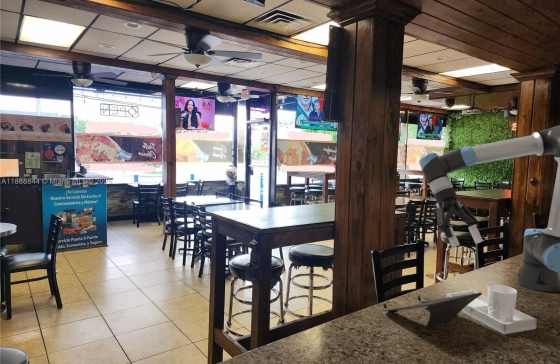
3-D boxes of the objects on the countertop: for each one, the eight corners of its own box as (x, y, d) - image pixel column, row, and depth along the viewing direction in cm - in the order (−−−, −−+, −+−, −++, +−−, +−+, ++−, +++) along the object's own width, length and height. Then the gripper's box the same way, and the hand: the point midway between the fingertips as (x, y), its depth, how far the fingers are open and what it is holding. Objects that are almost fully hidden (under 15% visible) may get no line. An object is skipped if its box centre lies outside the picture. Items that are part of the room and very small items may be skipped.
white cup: (519, 326, 110) (521, 294, 109) (491, 324, 111) (492, 292, 110) (508, 315, 117) (510, 285, 117) (482, 313, 119) (483, 283, 118)
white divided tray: (472, 298, 134) (472, 290, 134) (536, 328, 111) (536, 319, 110) (444, 301, 130) (444, 293, 130) (503, 334, 107) (504, 324, 107)
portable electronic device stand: (433, 321, 128) (425, 294, 131) (490, 316, 109) (479, 285, 112) (382, 334, 118) (374, 305, 122) (435, 332, 99) (424, 297, 102)
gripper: (456, 194, 148) (480, 244, 140) (413, 196, 136) (437, 251, 127) (471, 186, 142) (497, 237, 134) (428, 187, 130) (454, 244, 121)
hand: (468, 244), depth 130 cm, fingers open, 13 cm apart
